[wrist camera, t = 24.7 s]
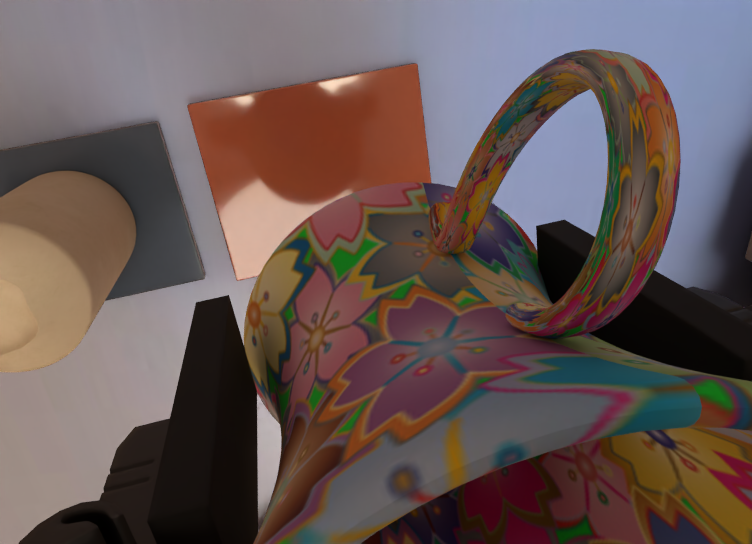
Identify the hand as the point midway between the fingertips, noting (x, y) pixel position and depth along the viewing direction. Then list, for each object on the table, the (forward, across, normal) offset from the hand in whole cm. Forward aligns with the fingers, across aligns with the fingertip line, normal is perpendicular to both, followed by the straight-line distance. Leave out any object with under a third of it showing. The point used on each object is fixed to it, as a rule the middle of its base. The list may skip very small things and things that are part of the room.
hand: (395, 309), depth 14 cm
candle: (+16, -12, 0) cm, 20 cm away
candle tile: (+16, -12, 0) cm, 20 cm away
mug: (+2, +1, 0) cm, 2 cm away
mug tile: (+16, 0, 0) cm, 16 cm away
